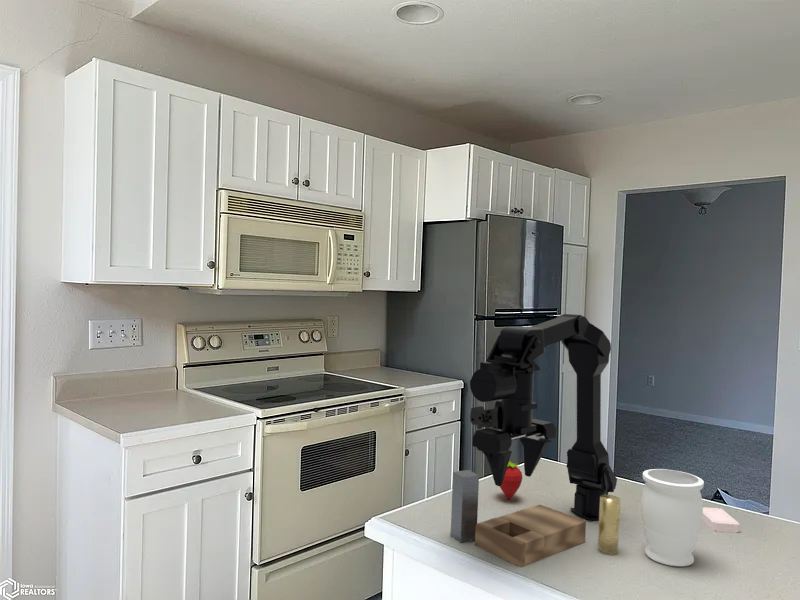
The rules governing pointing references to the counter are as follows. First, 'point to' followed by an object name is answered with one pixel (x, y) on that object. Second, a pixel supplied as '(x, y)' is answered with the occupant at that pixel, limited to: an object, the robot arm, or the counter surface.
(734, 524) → the soap bar
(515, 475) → the strawberry
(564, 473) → the counter surface
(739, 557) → the counter surface
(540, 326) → the robot arm
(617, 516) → the round bit
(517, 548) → the socket block
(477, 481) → the square bit
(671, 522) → the jar
